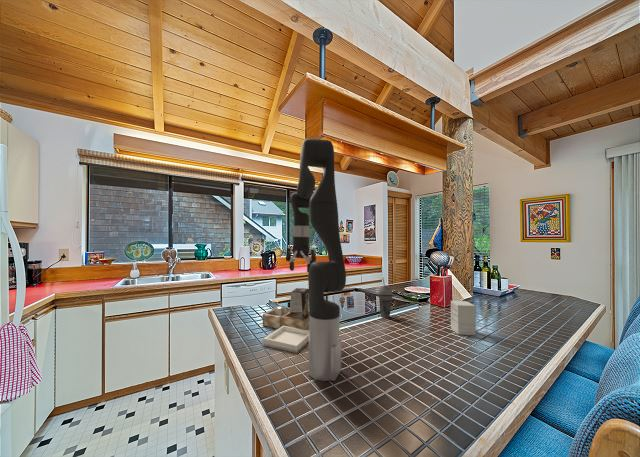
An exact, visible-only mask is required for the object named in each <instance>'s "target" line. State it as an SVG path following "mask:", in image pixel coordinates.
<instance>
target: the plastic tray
mask: <svg viewBox="0 0 640 457" xmlns="http://www.w3.org/2000/svg"><path fill="white" fill-rule="evenodd" d="M262 340H263V341H262V342H263V344H262V345H263V346H265V347H269V348H273V349H277V350H282V351H285V352H290V353H295V354H297V353H298V352H300V350H301V349H302V348H304V347H305V346H306V345H307V344H309V330H303V329H298V328H293V327H288V326H282V327H280V328H279V329H278V328H276V329H275V330H274V331H273V332H271V333H270V334H267V335H266V336H265V337H264V338H263V339H262Z"/></svg>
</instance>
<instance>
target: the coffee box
mask: <svg viewBox="0 0 640 457" xmlns="http://www.w3.org/2000/svg"><path fill="white" fill-rule="evenodd" d="M289 306H290V307H289V308H290V317H291V318H296V319H301V320H305V319H306V318H308V311H309V288H303V287H302V288H294V289H293V290H292V291H291V292H290V305H289Z"/></svg>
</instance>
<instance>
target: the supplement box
mask: <svg viewBox="0 0 640 457" xmlns="http://www.w3.org/2000/svg"><path fill="white" fill-rule="evenodd" d="M476 321H477V320H476V305H474V304H473V303H471V302H469V301H467V300H465V301H464V300H463V301H462V300H461V301H460V300H450V329H451V330H452V331H454V332H455V333H456V334H457V335H461V336H463V335H466V336H476V335H477V334H476V332H477V331H476V327H477V326H476Z"/></svg>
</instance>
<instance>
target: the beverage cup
mask: <svg viewBox="0 0 640 457" xmlns="http://www.w3.org/2000/svg"><path fill="white" fill-rule="evenodd" d="M382 284H383V286H381V287H380V288H379V289H378V293H377V294H378V298H379V302H378V303H379V313H380V317H381V318H383V319H390V318H391V317H390V316H391V310H392V309H391V307H392V299H393V290H392V289H391V288H390V287H389V286H387V285H385V278H384V277H382Z"/></svg>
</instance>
